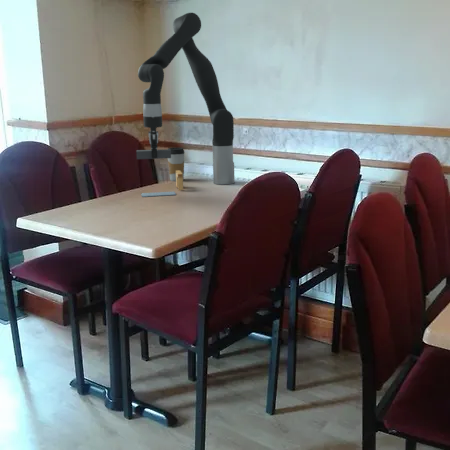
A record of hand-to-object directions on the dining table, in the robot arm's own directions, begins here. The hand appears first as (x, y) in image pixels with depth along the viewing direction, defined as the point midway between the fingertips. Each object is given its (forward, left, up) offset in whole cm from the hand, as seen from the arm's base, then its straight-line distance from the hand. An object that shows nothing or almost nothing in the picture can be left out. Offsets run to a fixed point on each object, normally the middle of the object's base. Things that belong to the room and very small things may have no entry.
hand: (154, 157), depth 237 cm
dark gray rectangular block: (0, 0, 0) cm, 0 cm away
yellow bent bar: (-11, -10, -15) cm, 21 cm away
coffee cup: (-12, -31, -16) cm, 37 cm away
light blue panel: (-1, +1, -16) cm, 16 cm away
